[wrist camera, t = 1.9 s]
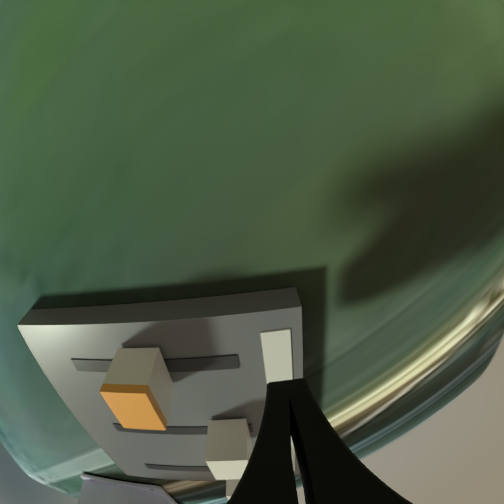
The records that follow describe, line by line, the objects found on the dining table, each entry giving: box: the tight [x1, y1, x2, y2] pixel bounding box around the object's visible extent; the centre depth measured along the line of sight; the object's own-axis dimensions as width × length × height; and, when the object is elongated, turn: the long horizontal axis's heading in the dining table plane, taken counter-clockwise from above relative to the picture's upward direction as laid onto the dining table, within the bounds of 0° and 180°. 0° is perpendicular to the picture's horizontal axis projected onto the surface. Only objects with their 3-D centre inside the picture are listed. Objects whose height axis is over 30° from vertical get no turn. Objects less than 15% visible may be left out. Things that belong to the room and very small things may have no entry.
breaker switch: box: [99, 347, 174, 430], centre depth 11 cm, size 2×2×3 cm
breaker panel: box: [17, 287, 303, 500], centre depth 15 cm, size 14×16×4 cm
